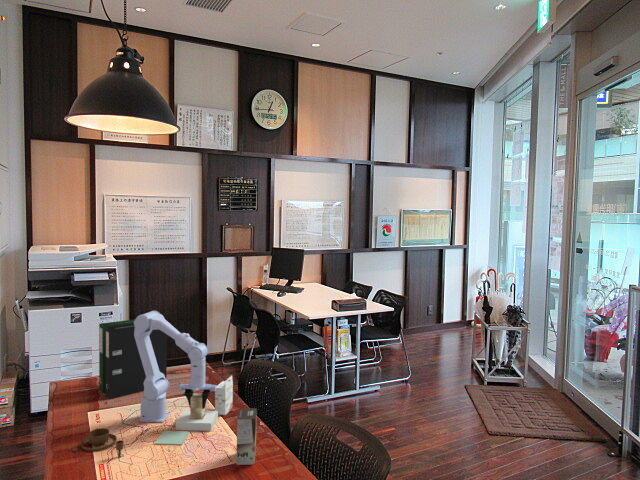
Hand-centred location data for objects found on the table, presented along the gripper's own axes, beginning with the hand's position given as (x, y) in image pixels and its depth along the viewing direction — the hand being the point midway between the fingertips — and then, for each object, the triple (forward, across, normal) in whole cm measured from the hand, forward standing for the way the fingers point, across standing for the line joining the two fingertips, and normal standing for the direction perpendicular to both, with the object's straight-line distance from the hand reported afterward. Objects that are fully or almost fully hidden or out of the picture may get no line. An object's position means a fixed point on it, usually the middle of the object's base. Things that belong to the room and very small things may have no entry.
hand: (197, 407), depth 192 cm
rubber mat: (+7, -6, -13) cm, 16 cm away
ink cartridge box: (+7, +8, +13) cm, 17 cm away
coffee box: (+7, +24, -26) cm, 36 cm away
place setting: (+8, -29, -22) cm, 38 cm away
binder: (+7, -40, +36) cm, 54 cm away
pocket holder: (+7, 0, 0) cm, 7 cm away
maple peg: (+4, 0, 0) cm, 4 cm away
